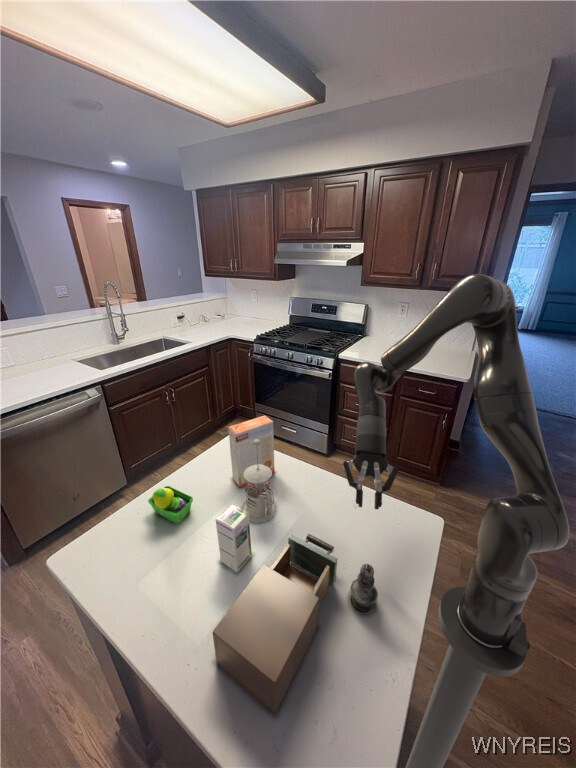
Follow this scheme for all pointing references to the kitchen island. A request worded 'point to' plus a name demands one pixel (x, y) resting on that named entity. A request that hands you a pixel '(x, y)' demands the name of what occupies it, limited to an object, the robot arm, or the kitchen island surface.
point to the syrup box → (234, 537)
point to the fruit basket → (171, 503)
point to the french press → (258, 492)
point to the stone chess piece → (364, 590)
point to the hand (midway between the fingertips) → (368, 507)
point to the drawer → (308, 564)
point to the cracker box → (251, 446)
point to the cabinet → (266, 635)
